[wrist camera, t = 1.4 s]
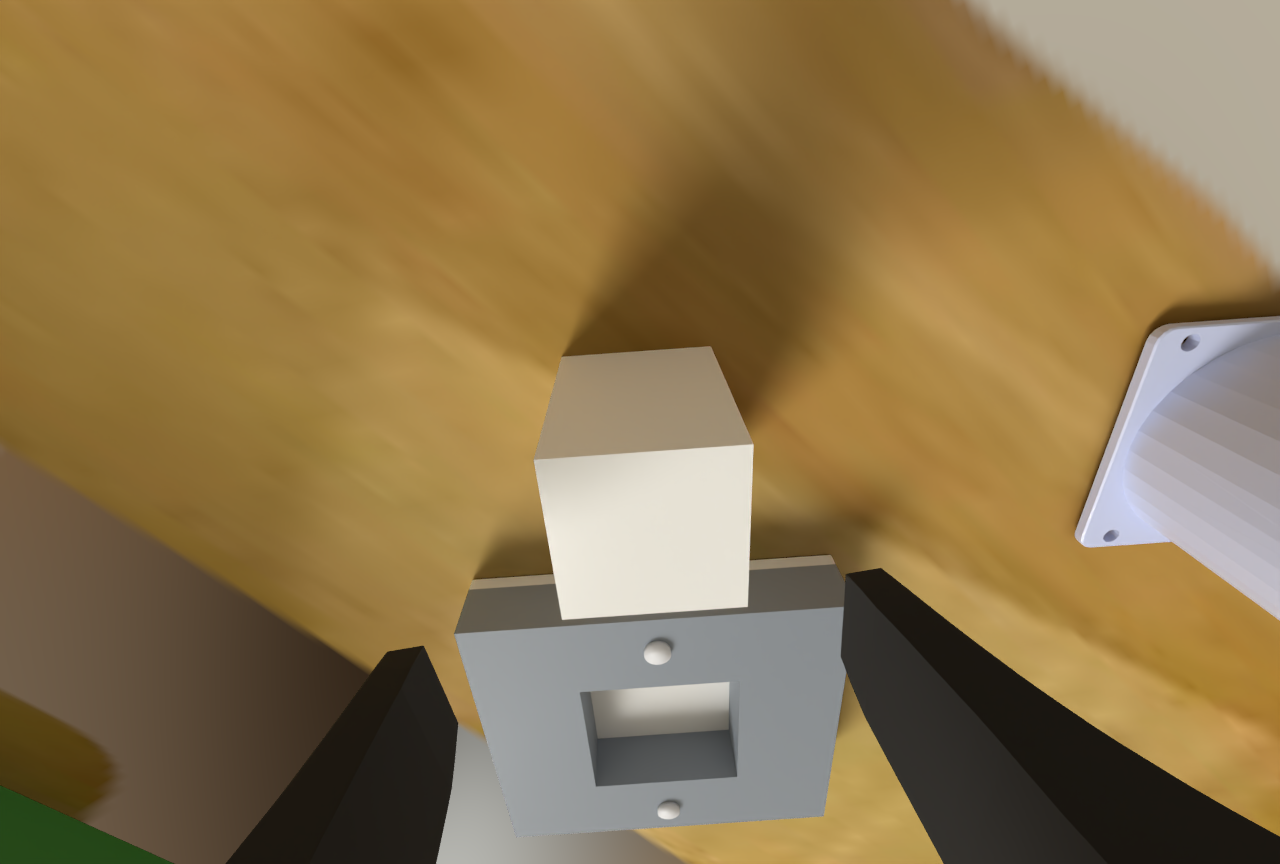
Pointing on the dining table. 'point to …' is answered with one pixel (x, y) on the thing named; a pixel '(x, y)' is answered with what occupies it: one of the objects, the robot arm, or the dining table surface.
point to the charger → (645, 485)
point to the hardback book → (58, 837)
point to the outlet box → (659, 703)
